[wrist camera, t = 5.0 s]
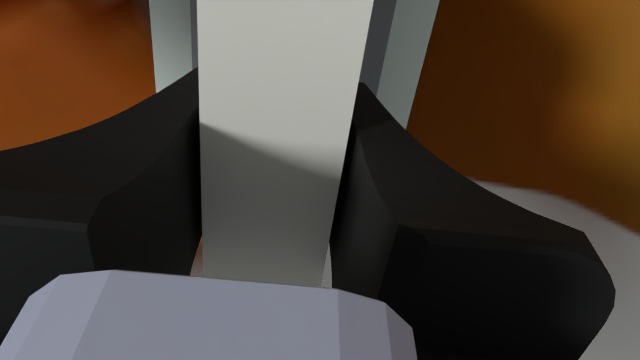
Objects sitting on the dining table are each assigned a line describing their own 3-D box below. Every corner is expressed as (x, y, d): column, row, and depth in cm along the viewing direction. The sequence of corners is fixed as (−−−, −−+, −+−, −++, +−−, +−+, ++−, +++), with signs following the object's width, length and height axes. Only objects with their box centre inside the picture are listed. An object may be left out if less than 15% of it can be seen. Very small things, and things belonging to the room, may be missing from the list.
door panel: (242, 178, 18) (204, 357, 12) (256, -169, 12) (193, -134, 6) (311, 185, 18) (306, 364, 12) (360, -153, 12) (393, -106, 6)
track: (168, 192, 21) (155, 225, 20) (128, -350, 12) (96, -374, 10) (380, 212, 22) (384, 247, 20) (507, -285, 12) (537, -298, 11)
